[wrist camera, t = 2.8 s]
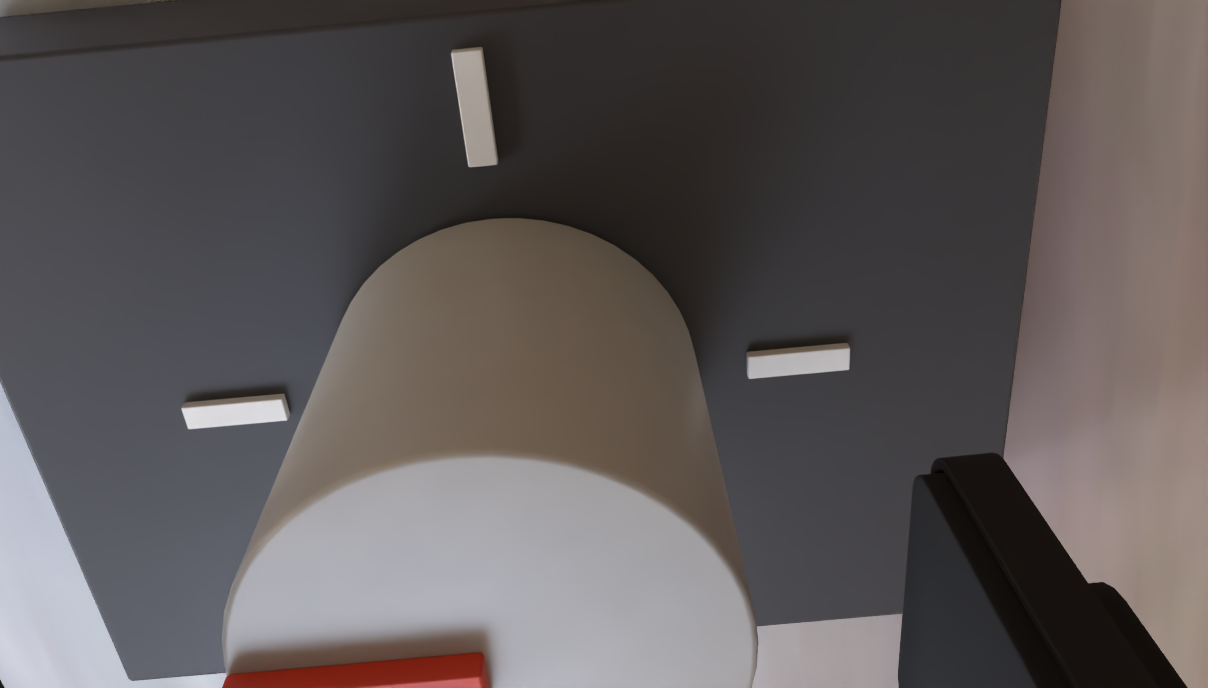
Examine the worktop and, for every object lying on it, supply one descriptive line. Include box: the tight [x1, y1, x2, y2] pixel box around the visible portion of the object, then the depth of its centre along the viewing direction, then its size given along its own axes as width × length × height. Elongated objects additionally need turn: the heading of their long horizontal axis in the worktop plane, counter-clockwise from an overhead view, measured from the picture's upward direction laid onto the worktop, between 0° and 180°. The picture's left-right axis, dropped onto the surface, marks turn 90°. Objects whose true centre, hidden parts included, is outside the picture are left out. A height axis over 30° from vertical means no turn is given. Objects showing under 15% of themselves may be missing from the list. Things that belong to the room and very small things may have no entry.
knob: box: [222, 218, 758, 688], centre depth 12 cm, size 5×5×6 cm
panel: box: [0, 0, 1062, 681], centre depth 15 cm, size 14×10×3 cm
